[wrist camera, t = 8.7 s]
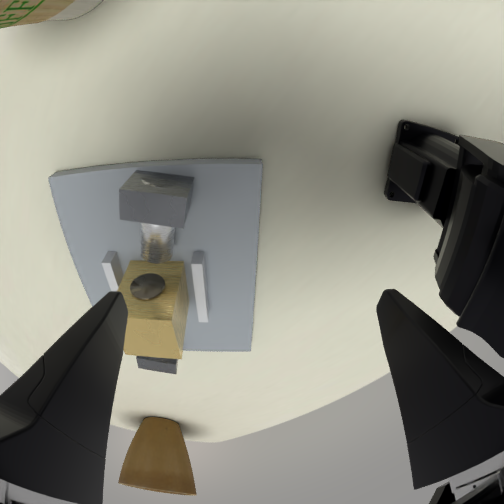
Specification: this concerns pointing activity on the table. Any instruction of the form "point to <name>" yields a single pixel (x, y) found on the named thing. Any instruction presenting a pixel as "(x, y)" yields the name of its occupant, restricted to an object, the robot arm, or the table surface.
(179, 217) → the shaft
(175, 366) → the shaft
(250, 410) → the table surface
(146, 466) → the plant pot
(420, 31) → the table surface
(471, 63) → the table surface
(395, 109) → the table surface
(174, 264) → the block
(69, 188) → the grey base plate
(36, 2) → the coffee cup
